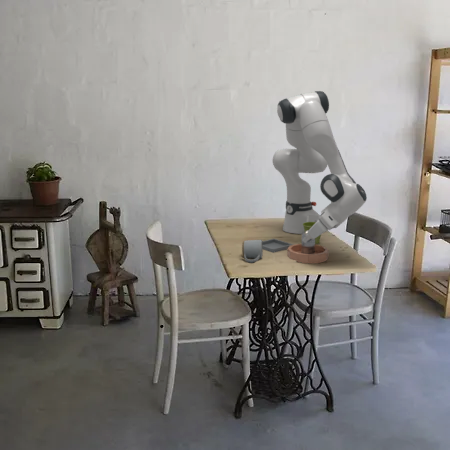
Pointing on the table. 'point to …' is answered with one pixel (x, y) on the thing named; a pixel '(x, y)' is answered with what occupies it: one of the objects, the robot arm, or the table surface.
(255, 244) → the ceramic mug
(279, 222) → the table surface
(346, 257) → the table surface
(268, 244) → the parts tray
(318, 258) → the terracotta bowl
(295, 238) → the table surface
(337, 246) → the table surface
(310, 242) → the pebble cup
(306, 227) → the plant pot
